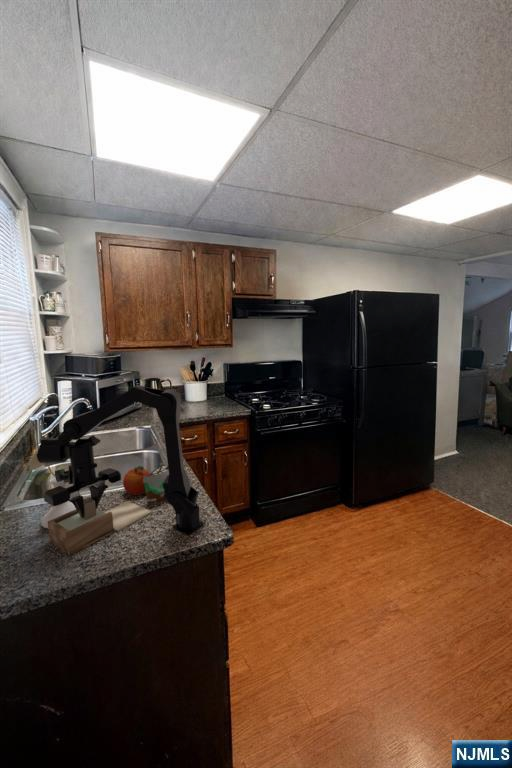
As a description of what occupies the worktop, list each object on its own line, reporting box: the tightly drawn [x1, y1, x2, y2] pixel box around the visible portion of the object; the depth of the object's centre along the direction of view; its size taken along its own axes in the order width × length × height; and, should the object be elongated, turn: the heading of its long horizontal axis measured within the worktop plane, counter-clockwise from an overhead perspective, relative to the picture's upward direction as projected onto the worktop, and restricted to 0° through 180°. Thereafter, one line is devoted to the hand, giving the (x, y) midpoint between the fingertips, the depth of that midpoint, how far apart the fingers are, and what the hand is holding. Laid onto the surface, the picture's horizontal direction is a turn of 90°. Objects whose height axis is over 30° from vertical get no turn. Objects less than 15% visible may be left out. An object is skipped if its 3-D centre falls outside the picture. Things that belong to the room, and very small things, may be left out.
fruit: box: [122, 465, 151, 496], centre depth 114 cm, size 10×10×10 cm
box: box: [47, 509, 115, 556], centre depth 88 cm, size 11×12×6 cm
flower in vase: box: [27, 449, 76, 529], centre depth 94 cm, size 13×11×25 cm
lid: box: [58, 497, 106, 531], centre depth 88 cm, size 8×10×5 cm
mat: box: [103, 500, 153, 532], centre depth 98 cm, size 13×12×1 cm
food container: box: [143, 463, 169, 505], centre depth 109 cm, size 12×6×10 cm, turn 168°
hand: (88, 514), depth 89 cm, fingers closed on lid, 3 cm apart
